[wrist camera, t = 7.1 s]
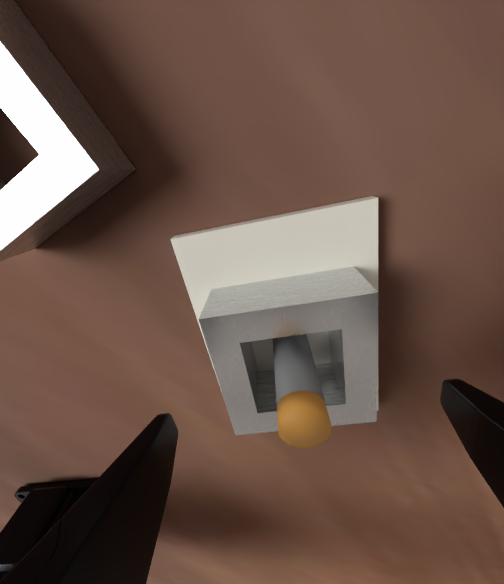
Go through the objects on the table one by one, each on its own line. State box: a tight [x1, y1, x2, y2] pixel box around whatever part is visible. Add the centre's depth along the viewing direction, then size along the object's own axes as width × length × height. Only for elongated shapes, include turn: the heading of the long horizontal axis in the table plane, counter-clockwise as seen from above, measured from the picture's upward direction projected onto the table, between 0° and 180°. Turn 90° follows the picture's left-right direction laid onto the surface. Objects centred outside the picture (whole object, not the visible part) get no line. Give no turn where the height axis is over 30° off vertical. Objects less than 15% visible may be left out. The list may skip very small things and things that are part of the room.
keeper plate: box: [170, 196, 378, 448], centre depth 10 cm, size 11×8×5 cm
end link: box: [199, 266, 378, 435], centre depth 11 cm, size 6×6×2 cm
